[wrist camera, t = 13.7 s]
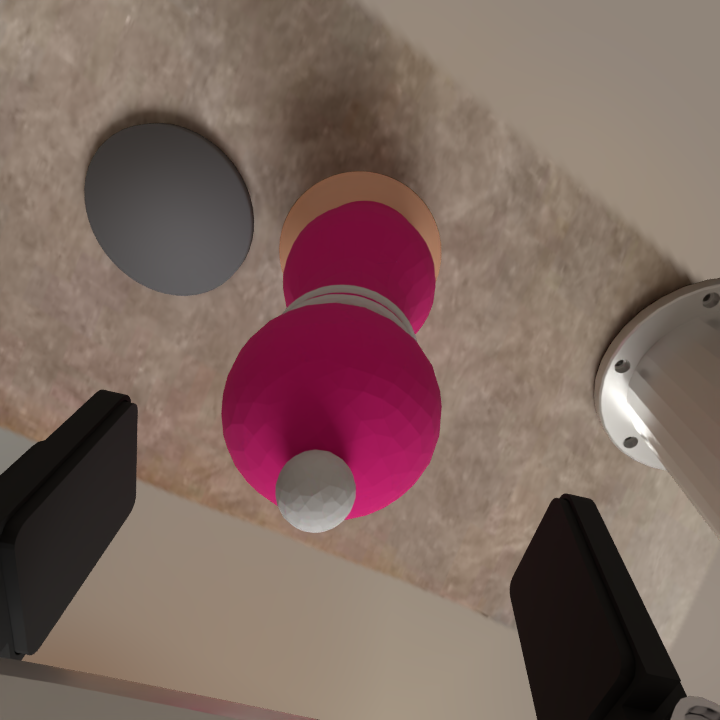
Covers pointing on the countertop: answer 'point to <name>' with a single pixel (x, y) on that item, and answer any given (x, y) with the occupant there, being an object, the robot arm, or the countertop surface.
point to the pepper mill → (339, 373)
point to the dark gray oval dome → (169, 208)
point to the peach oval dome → (360, 189)
